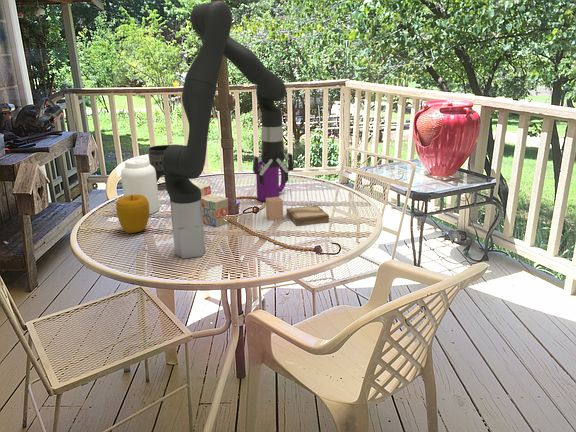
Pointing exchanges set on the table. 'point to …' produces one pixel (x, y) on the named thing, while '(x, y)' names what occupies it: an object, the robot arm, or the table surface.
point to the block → (274, 208)
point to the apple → (133, 213)
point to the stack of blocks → (212, 206)
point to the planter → (157, 159)
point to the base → (307, 215)
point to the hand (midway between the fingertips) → (273, 183)
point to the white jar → (141, 181)
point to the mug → (269, 183)
